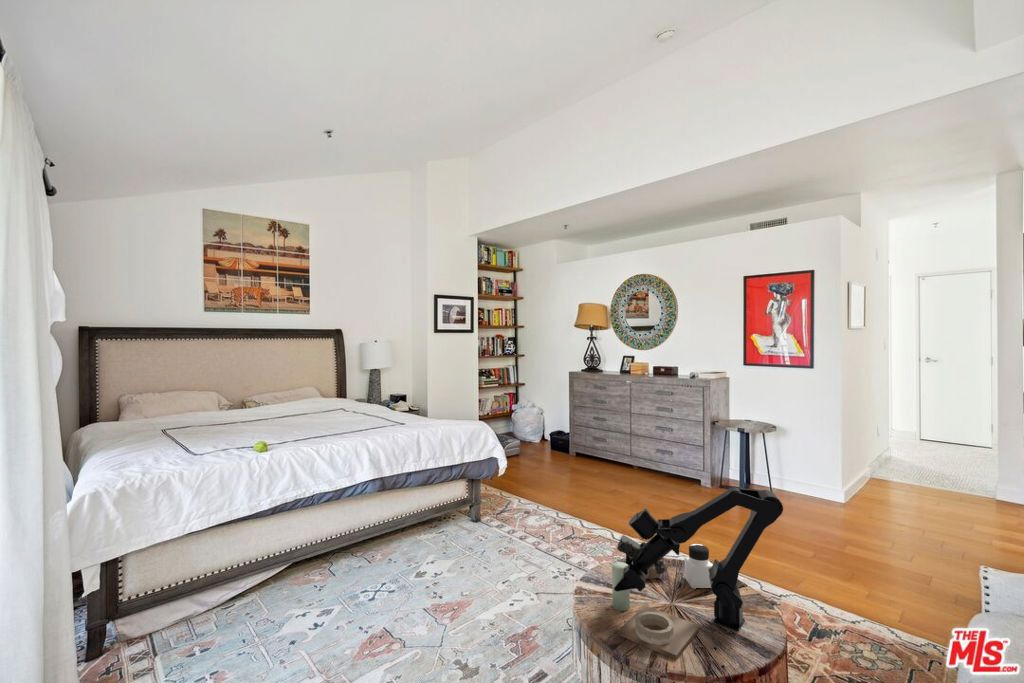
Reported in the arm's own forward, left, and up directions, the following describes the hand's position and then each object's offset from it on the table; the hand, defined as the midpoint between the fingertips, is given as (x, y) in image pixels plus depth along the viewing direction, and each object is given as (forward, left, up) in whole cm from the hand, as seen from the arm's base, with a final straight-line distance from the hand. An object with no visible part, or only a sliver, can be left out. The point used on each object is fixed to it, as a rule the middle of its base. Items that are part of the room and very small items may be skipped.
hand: (616, 583), depth 142 cm
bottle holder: (-15, +4, -7) cm, 17 cm away
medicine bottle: (-14, -29, -7) cm, 33 cm away
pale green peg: (-1, -1, -7) cm, 7 cm away
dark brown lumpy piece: (+1, -21, -7) cm, 22 cm away
